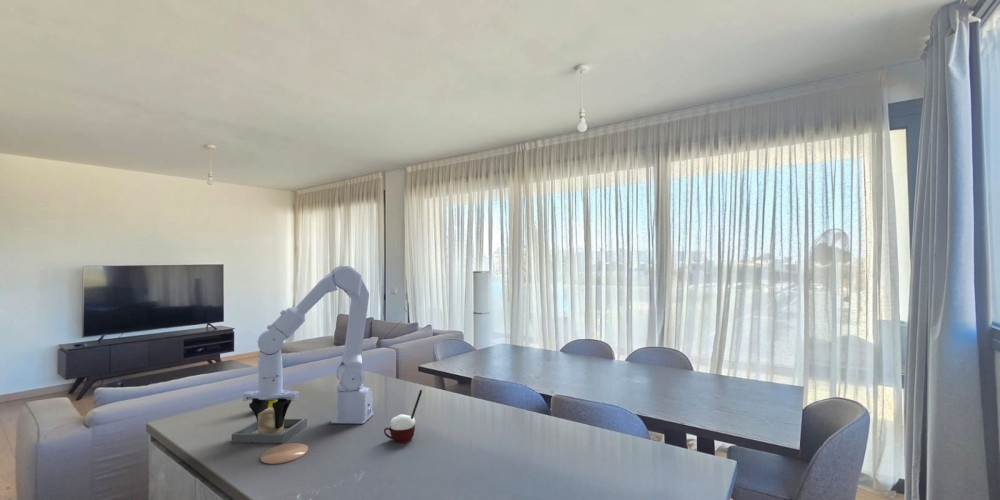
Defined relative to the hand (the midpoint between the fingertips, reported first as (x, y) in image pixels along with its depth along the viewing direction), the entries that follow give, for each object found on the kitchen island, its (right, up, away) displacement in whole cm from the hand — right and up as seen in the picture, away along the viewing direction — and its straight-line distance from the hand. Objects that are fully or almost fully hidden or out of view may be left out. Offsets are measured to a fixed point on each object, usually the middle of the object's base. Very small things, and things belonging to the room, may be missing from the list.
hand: (271, 427), depth 115 cm
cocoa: (+37, -1, -6) cm, 37 cm away
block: (0, -2, 0) cm, 2 cm away
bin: (0, -2, 0) cm, 2 cm away
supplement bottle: (-11, -3, +20) cm, 23 cm away
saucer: (+10, -1, -13) cm, 16 cm away
